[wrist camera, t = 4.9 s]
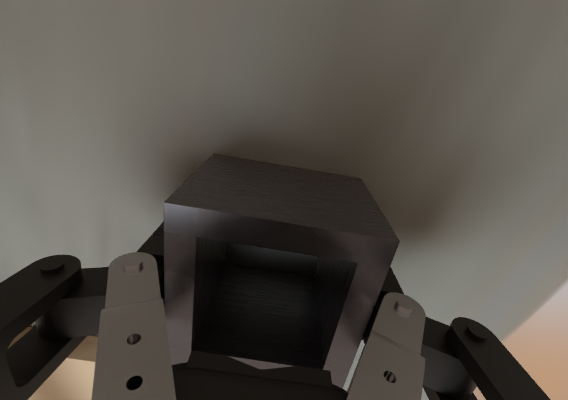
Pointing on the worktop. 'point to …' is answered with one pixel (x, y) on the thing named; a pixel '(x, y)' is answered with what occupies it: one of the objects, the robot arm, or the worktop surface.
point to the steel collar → (269, 283)
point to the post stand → (70, 373)
